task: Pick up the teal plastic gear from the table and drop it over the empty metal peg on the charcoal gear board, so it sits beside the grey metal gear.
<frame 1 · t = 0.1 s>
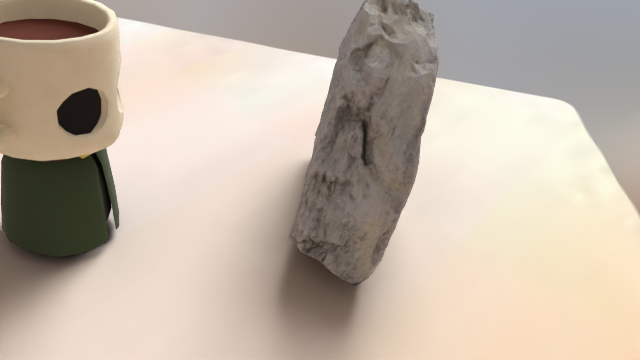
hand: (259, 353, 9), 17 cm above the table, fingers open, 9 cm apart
decorative rock: (343, 218, 41), on the table
character mug: (64, 232, 36), on the table
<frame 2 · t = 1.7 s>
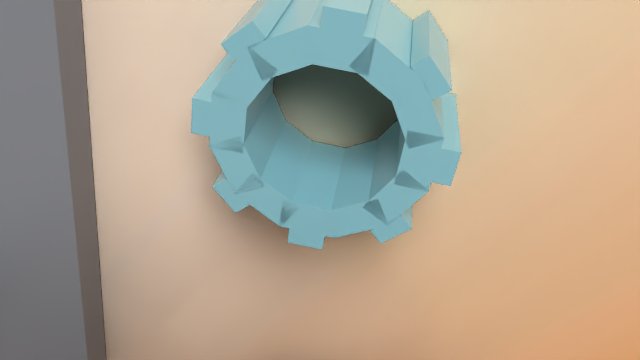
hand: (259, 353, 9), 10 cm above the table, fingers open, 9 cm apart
teal gear: (339, 87, 18), on the table
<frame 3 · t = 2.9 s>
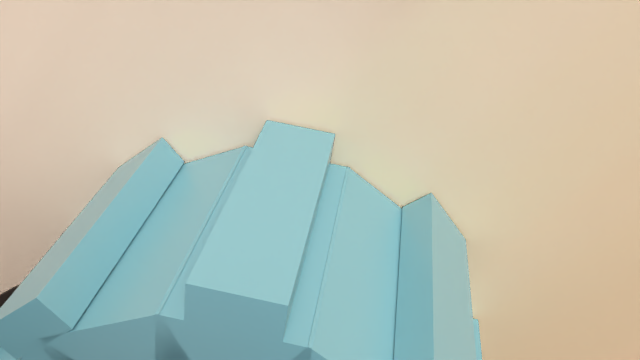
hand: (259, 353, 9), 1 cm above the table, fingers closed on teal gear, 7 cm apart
teal gear: (275, 298, 10), on the table, touching gripper
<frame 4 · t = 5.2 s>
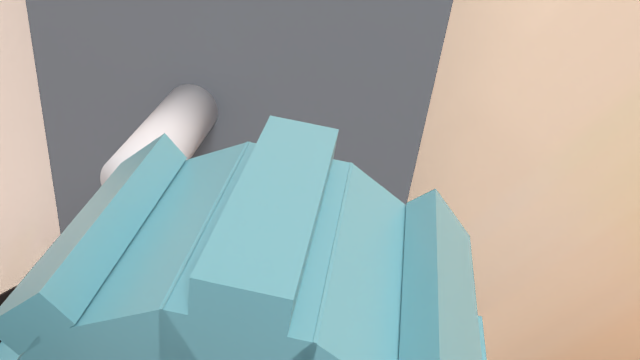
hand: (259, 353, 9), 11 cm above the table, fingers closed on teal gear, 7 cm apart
gear board: (233, 186, 22), on the table
teal gear: (278, 295, 10), point 10 cm above the table, touching gripper
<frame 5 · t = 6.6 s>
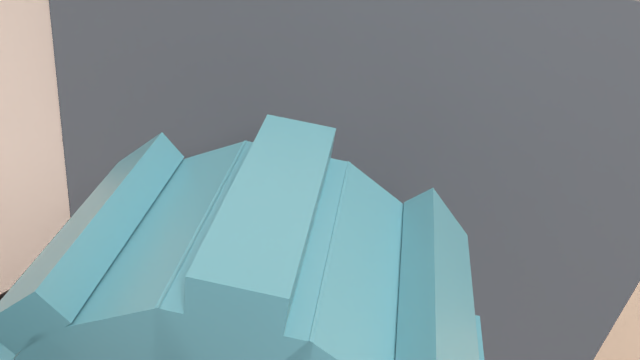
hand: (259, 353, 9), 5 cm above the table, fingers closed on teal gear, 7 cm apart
gear board: (328, 300, 16), on the table
teal gear: (276, 294, 10), point 4 cm above the table, touching gripper
when the fingers open (5 cm above the table, at t = 7.6 s): teal gear drops 2 cm, resting on gear board.
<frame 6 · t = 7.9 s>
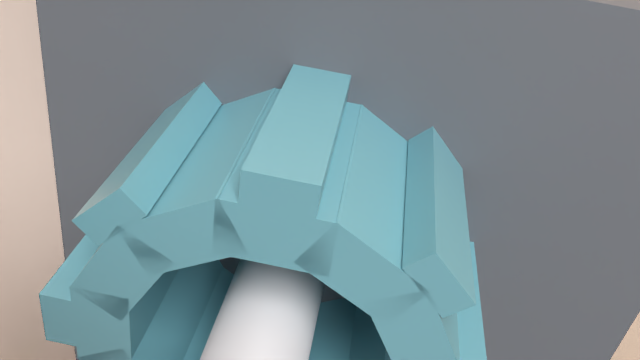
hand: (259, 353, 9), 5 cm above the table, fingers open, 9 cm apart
gear board: (326, 314, 15), on the table
teal gear: (298, 227, 12), point 1 cm above the table, touching gear board
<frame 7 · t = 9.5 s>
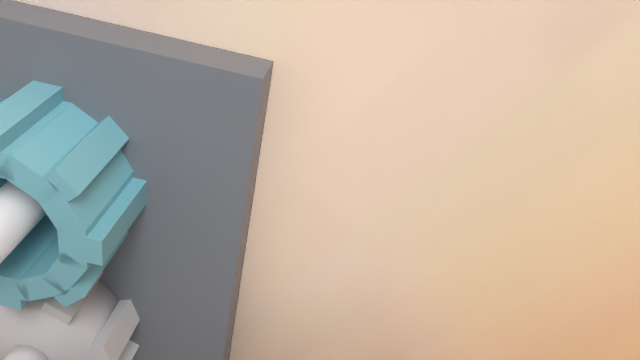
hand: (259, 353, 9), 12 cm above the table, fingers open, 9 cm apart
gear board: (100, 231, 25), on the table
teal gear: (54, 170, 22), point 1 cm above the table, touching gear board
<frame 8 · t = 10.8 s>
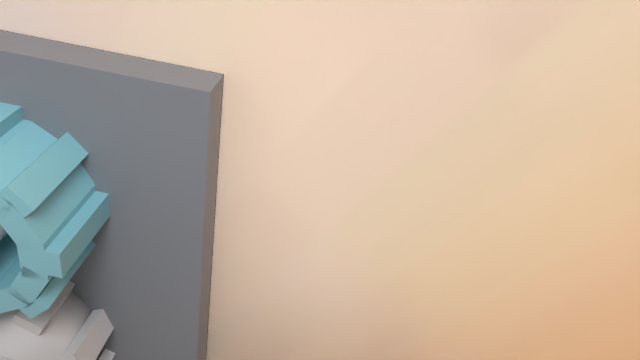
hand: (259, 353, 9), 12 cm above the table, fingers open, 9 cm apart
gear board: (72, 244, 25), on the table
teal gear: (20, 186, 22), point 1 cm above the table, touching gear board
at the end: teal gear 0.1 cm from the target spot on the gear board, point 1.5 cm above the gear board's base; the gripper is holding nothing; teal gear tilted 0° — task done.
